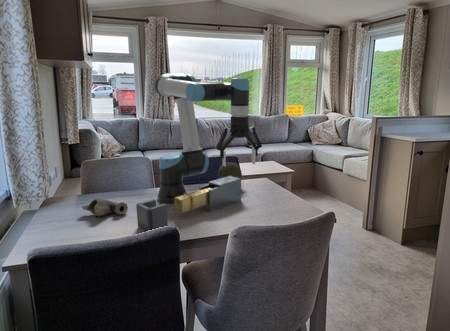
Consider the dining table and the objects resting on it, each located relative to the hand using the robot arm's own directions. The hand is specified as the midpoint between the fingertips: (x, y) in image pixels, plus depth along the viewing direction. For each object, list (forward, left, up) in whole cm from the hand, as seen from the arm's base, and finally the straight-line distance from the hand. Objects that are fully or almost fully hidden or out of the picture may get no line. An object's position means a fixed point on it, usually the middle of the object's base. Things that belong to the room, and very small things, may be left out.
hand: (238, 164), depth 142 cm
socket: (-17, -35, -24) cm, 45 cm away
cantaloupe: (-32, +26, -24) cm, 48 cm away
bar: (-17, -6, -21) cm, 27 cm away
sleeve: (-17, +4, -24) cm, 29 cm away
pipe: (-45, -43, -24) cm, 66 cm away
